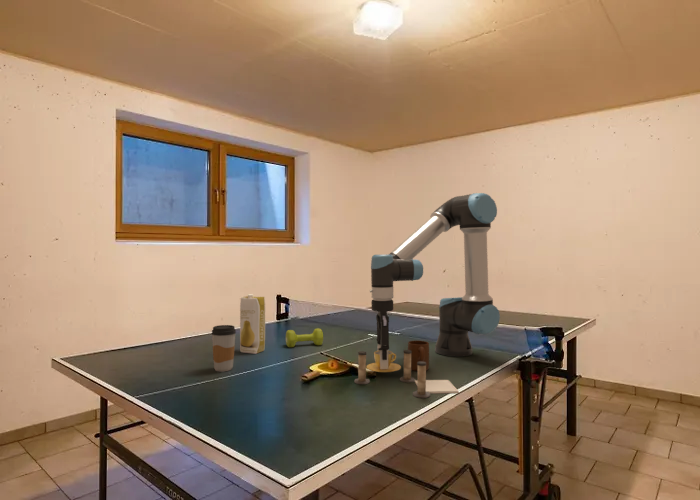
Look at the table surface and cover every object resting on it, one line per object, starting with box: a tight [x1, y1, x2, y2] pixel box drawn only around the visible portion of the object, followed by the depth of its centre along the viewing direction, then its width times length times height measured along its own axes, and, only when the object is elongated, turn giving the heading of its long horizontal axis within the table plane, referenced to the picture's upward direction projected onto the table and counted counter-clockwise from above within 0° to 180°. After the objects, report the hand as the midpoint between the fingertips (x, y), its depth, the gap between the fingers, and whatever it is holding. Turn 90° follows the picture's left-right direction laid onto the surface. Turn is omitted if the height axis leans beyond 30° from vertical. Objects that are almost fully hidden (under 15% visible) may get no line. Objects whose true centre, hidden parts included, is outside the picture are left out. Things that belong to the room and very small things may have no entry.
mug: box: [407, 340, 430, 372], centre depth 152 cm, size 12×8×9 cm, turn 2°
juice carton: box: [239, 293, 266, 355], centre depth 178 cm, size 9×8×24 cm
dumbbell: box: [285, 327, 324, 348], centre depth 190 cm, size 16×8×7 cm, turn 109°
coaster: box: [414, 379, 459, 394], centre depth 133 cm, size 11×11×1 cm
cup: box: [366, 350, 402, 373], centre depth 147 cm, size 12×12×5 cm
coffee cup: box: [211, 324, 237, 373], centre depth 151 cm, size 8×8×15 cm
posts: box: [354, 349, 431, 399], centre depth 132 cm, size 22×20×10 cm
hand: (382, 365), depth 147 cm, fingers closed on cup, 6 cm apart
